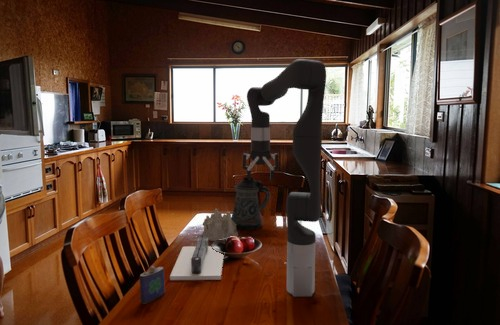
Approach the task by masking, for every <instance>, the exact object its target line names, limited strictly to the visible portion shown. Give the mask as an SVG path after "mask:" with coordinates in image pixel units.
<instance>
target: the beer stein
mask: <svg viewBox="0 0 500 325" xmlns="http://www.w3.org/2000/svg"><path fill="white" fill-rule="evenodd" d="M234 188H235V193H236V194H235V200H234V204H233V205H234V206H233V210H232V214H231V219H232V221H233V222H234V223H235V224H236V228H237V230H239V231H255V230H259V229H260V228H261V227H262V224H263V218H262V216H261V212H262V211H263V210H264V208H266V207H267V205H268V203H269V202H270V199H271V192H270V189H269V188H267V187H266V185H265V186H264V183H263V182H262V181H260V180H255V178H253V177H251V180H249V179H248V178H247V177H243V178H242V180H241V181H239V183H238V182H237V184H236V185H235V187H234ZM259 193H264V195H265V198H264V201H263V202H261V204H259ZM237 230H236V231H237Z"/></svg>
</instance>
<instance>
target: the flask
mask: <svg viewBox="0 0 500 325" xmlns="http://www.w3.org/2000/svg"><path fill="white" fill-rule="evenodd" d="M139 290H140V304H142V305H145V304H149V303H151V302H154V301H156V300H157V299H159V298H161V297H163V296H164V295H165V294H166V293H165V292H166V288H165V267H163V266H158V267H157V266H154V265H150V269H149V270H148V271H146V272H144V271H143V273H140V275H139Z"/></svg>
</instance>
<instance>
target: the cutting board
mask: <svg viewBox="0 0 500 325" xmlns="http://www.w3.org/2000/svg"><path fill="white" fill-rule="evenodd" d="M211 246H212V245H211ZM211 246H210V245H208V250H207V251H206V255H205V259H204V263H203V267H202V271H201V273H199V274H193V273H192V272H191V258H192V256H193V254H194V251H195V248H196V245H195V246H182V248H181V250H180V253H179V254H178V257H177V259H176V262H175V264H174V265H173V268H172V271H171V273H170V275H169V281H205V280H206V281H207V280H208V281H209V280H211V281H216V280H217V281H218V280H219V281H220V280H221V281H222V276H221V275H222V274H223V268H222V267H223V266H224V260H223V259H224V258H225V254H224V255H223V254H221V253H219V252H216V251H215V250H213V249H212V247H211Z"/></svg>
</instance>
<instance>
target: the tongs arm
mask: <svg viewBox="0 0 500 325" xmlns="http://www.w3.org/2000/svg"><path fill="white" fill-rule="evenodd" d="M202 240H203V236H202V237H198V238H197V241H196V242H197V243H196V245H195V246H196V248H195V251H194V254H193V256H192V258H193V257H198V253H199V250H200V247H201V244H202Z"/></svg>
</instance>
